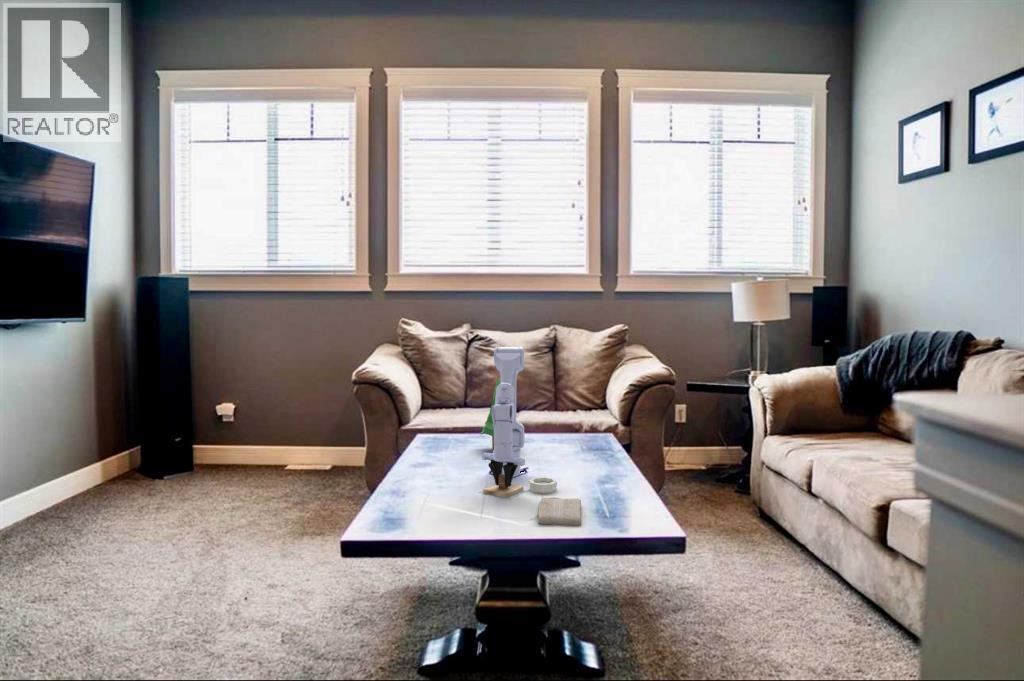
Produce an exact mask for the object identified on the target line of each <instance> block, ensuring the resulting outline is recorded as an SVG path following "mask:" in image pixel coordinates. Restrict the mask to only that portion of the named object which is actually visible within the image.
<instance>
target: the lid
mask: <svg viewBox="0 0 1024 681" xmlns="http://www.w3.org/2000/svg"><path fill="white" fill-rule="evenodd" d="M498 480H499V485H496V483H494V484H491V485H490V486H487V487H485V488H483V489H482V491H483V493H486V494H485V495H487V494H491V495H490V496H492V495H496V496H495V497H497V496H501V497H500V498H502V497H506V498H505V499H507V498H508V497H510V496H512V495H514V494H517V493H519V492H521V491H523V490H524V486H523V485H519V484H512V483H511V486H509V487H505V474H499V475H498Z"/></svg>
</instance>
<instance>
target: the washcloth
mask: <svg viewBox="0 0 1024 681" xmlns="http://www.w3.org/2000/svg"><path fill="white" fill-rule="evenodd" d="M581 501H582V500H581V499H580V498H574V497H573V498H561V497H542V498H541V500H540V501H539V504H538V523H537V524H541V525H562V526H580V525H582V502H581Z"/></svg>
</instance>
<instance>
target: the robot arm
mask: <svg viewBox="0 0 1024 681" xmlns="http://www.w3.org/2000/svg"><path fill="white" fill-rule="evenodd" d="M493 362H494V363H493V364H494V365H495V368H496V371H499V372H500V376H499V377H500V378H499V381H500V385H498V386H497V388H496V397H495V405H493V407H492V420H493V428H494V450H492V453H491V452H484V453H482V455H481V456H482V460H483V461H490V462H488V464H487V465H488V467H489V469H490V471H491V474H492V475H493V478H494V484H496V485H499V480H498V475H499V474H505V487H509V486H511V484H512V482H513V479H514V478H515V477H517V476H520V475H524V474H526V471H524V472H521V473H520V471H521V467H523V466H525V465H526V462H525V461H526V460H525V458H523V457H521V449H523V448H524V447H525V441H526V440H525V426H524V425H523V424H522V423H521V422H520V421H518V419H517V381H518V380H517V379H518V378H517V377H518V374H519V373H520V372H522V371H524V367H525V365H524V364H525V349H524V347H523V346H520V347H519V346H518V347H517V346H511V347H509V346H507V347H506V346H504V347H503V346H496V347H494V350H493ZM512 429H515V430H512Z"/></svg>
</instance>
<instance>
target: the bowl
mask: <svg viewBox="0 0 1024 681" xmlns="http://www.w3.org/2000/svg"><path fill="white" fill-rule="evenodd" d="M528 484H529V491H531V492H532V493H537V494H550V493H554V492H556V491H557V488H558V487H557V486H558V480H557V479H556V478H553V477H549V476H548V477H547V476H540V477H539V476H536V477H532V478H531V479H529V481H528Z"/></svg>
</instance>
